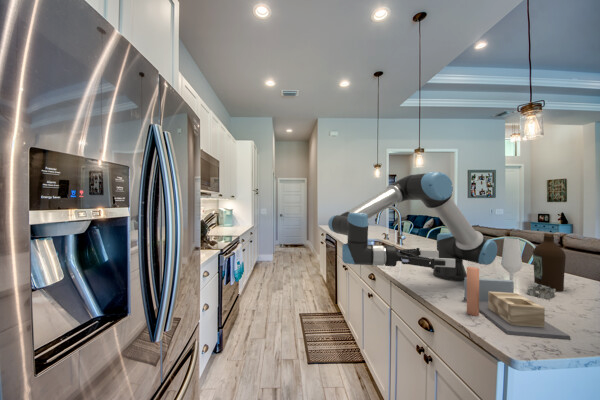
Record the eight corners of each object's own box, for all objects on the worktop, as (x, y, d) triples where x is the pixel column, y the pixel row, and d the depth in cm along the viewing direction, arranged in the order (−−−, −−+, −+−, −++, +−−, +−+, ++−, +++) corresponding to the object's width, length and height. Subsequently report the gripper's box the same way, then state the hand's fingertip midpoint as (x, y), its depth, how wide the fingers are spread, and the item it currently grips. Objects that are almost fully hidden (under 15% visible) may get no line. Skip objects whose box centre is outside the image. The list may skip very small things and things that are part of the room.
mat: (570, 339, 70) (570, 336, 70) (507, 334, 73) (507, 330, 73) (508, 302, 96) (508, 299, 96) (463, 299, 98) (463, 297, 98)
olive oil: (557, 285, 115) (557, 232, 115) (571, 293, 105) (571, 235, 106) (528, 282, 119) (528, 231, 120) (539, 289, 110) (539, 234, 110)
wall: (513, 302, 93) (513, 281, 93) (467, 299, 95) (467, 279, 95) (509, 300, 95) (509, 279, 95) (464, 297, 98) (464, 277, 98)
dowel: (466, 313, 86) (466, 268, 86) (467, 310, 88) (467, 266, 88) (478, 317, 83) (479, 270, 83) (479, 313, 86) (479, 267, 86)
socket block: (544, 327, 74) (544, 307, 74) (511, 324, 76) (511, 305, 76) (516, 310, 86) (516, 293, 86) (488, 308, 88) (488, 291, 88)
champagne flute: (497, 294, 103) (497, 238, 104) (507, 292, 106) (507, 237, 106) (516, 300, 97) (516, 240, 97) (526, 298, 100) (526, 239, 100)
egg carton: (547, 300, 98) (547, 290, 98) (523, 294, 105) (523, 284, 105) (558, 296, 103) (558, 286, 103) (534, 290, 110) (534, 281, 110)
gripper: (378, 258, 103) (432, 260, 100) (391, 275, 78) (463, 279, 75) (379, 240, 103) (432, 242, 100) (391, 252, 78) (463, 255, 75)
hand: (446, 258), depth 87 cm, fingers open, 13 cm apart
